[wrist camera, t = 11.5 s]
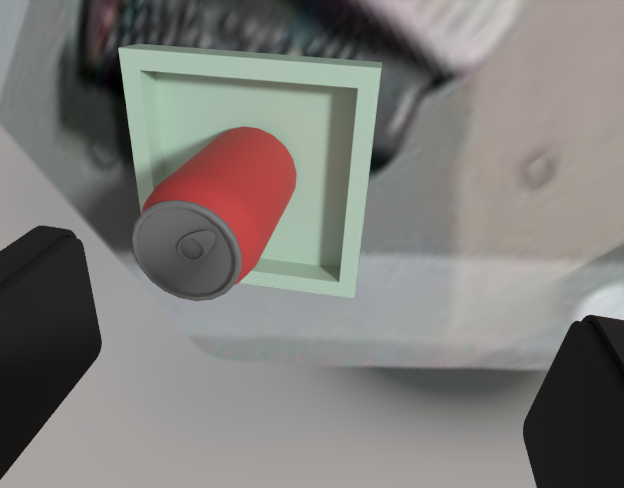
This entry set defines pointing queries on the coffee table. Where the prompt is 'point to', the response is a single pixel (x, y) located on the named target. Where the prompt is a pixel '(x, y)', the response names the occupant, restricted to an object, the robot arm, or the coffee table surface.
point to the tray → (279, 122)
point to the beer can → (215, 214)
